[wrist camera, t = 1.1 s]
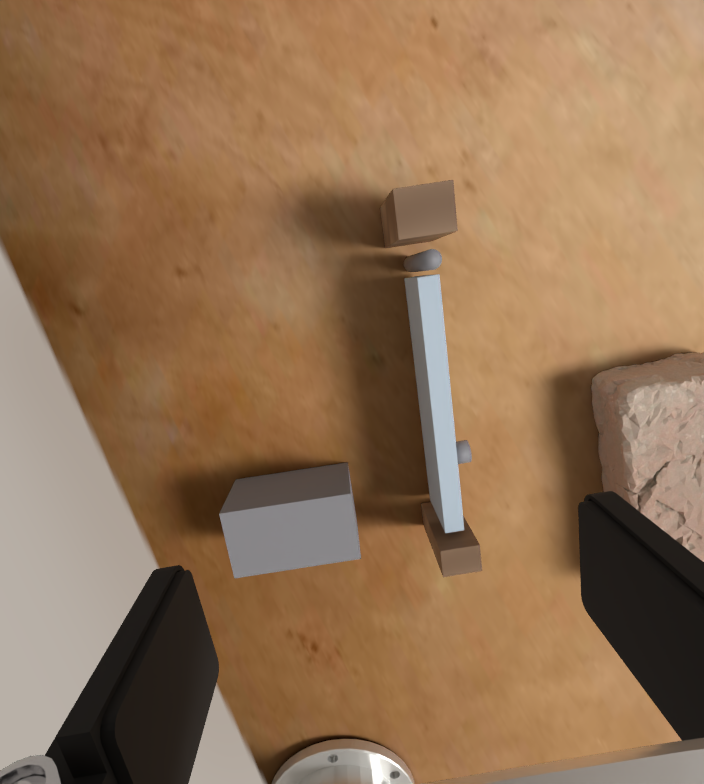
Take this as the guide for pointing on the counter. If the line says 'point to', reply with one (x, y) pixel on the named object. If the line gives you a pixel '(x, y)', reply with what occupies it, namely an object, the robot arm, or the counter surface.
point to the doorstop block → (290, 520)
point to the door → (435, 390)
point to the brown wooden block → (419, 214)
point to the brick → (656, 441)
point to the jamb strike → (451, 545)
